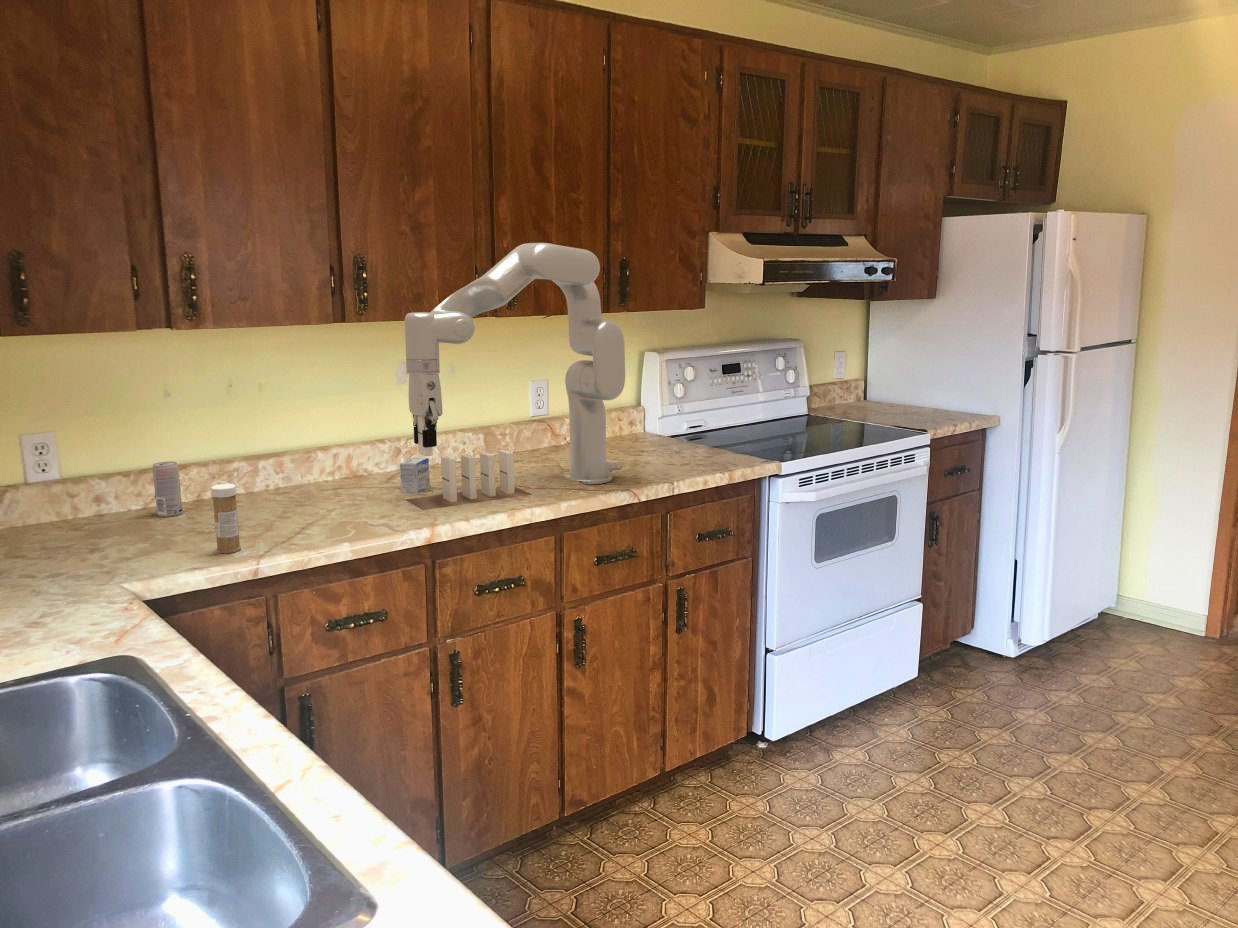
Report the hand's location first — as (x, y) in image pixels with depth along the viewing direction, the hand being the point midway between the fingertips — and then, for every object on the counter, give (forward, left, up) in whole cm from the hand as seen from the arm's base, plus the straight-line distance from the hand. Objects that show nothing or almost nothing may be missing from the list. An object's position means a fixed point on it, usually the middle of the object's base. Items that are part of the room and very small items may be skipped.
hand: (425, 444), depth 224 cm
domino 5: (-20, 0, -14) cm, 25 cm away
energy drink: (+53, -27, -15) cm, 61 cm away
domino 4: (-15, 0, -14) cm, 21 cm away
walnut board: (-10, 0, -15) cm, 18 cm away
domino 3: (-10, 0, -14) cm, 17 cm away
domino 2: (-5, 0, -14) cm, 15 cm away
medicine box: (-2, -15, -16) cm, 22 cm away
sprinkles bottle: (+47, +12, -15) cm, 50 cm away
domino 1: (0, 0, -2) cm, 2 cm away
